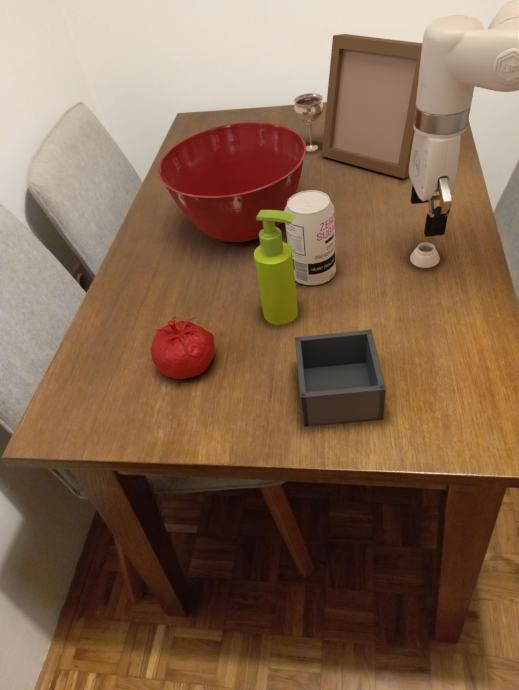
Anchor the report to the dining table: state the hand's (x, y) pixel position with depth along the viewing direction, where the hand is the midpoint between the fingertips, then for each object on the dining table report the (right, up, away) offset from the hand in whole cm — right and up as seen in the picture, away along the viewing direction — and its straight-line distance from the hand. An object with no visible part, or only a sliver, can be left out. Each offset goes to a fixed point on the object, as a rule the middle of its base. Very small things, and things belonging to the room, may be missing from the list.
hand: (426, 218), depth 88 cm
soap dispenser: (-24, -16, +1) cm, 29 cm away
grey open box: (-12, -25, -15) cm, 31 cm away
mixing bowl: (-32, +4, +22) cm, 39 cm away
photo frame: (0, +22, +34) cm, 41 cm away
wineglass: (-15, +27, +41) cm, 51 cm away
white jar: (+2, -6, +6) cm, 9 cm away
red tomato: (-40, -24, -4) cm, 47 cm away
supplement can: (-18, -8, +8) cm, 22 cm away
